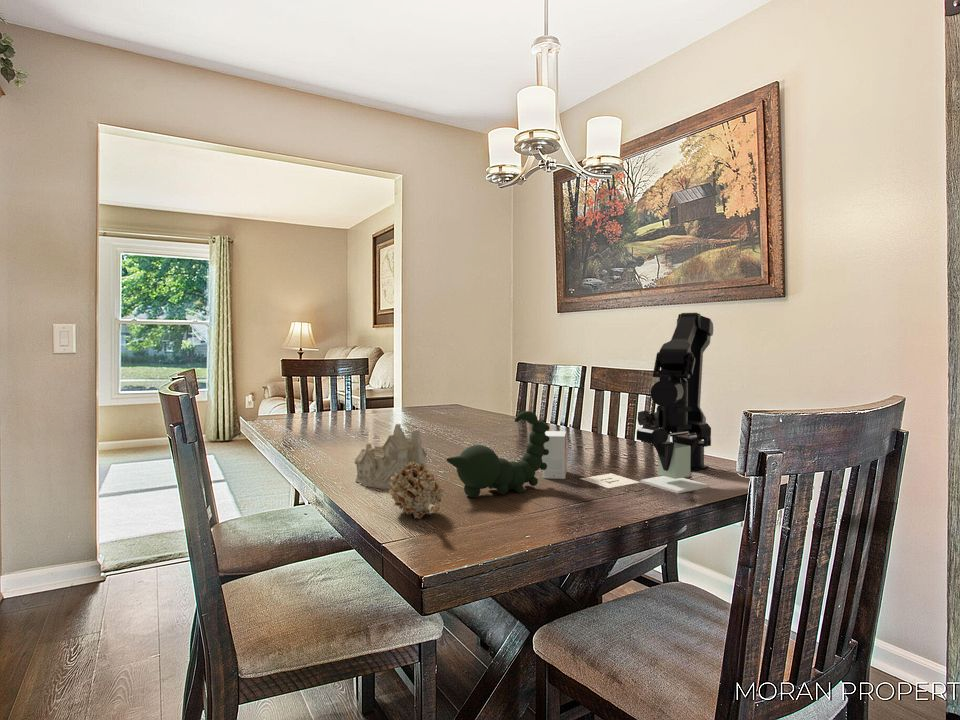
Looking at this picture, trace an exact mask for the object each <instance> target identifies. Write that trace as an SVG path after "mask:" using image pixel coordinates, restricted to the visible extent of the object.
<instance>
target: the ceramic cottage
mask: <svg viewBox="0 0 960 720" xmlns="http://www.w3.org/2000/svg"><path fill="white" fill-rule="evenodd" d="M401 426H402V425H401V424H400V423H396V424H395V426H394V429H393V434H390V435H388V437H387V438H386V440H385V442H384V444H383V445H380V446H379V445H376V446H374V448H373V447H372V444H371V443H366V444H365V448H363V449H362V448H361V451H359V454H358V455H357V457H356V458H355V460H354V464H355V465H356V473H357V474H356V478H355V483H357V482H358V484H359V483H361V484H360V485H362V484H363V485H362V486H364V485H365V486H364V487H367V486H368V488H372V489H373V488H378V489H384V490H385V489H387V490H390V489H391V488H392V486H391V485H390V483H392V480H391V477H395V472H396V473H399V472H401V470H402V469H403V468H404V465H405V466H406V467H407V465H408V463H409V462H411V461H412V462H416V463H418V464H419V466H420V465H421V463H423V464H424V465H425V467H426V468H428V467H427V466H428V465H427V463H428V462H427V460H426V457H427V455H428V453H426V451H425V449H424V448H423V446H422V445H423V444H422V438H421V434H420V433H421V432H420V429H416V428H414V429H412V431H411V436H410V437H406V435H405V432H404V431H403V428H402V427H401ZM428 469H429V471H431V470H430V468H428Z"/></svg>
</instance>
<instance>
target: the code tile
mask: <svg viewBox="0 0 960 720" xmlns="http://www.w3.org/2000/svg"><path fill="white" fill-rule="evenodd" d="M579 480H583V481H586V482H589V483H592V484H595V485H597V486H600V487H604V488H606V489H611V488H617V487H623V486H628V485H634V484H638V483H641V481H638V480H634V479H631V478H629V477H628V478H627V477H624V476H621V475H619V474H618V475H617V474H615V473H611V472H610V473H606V474H598V475H593V476H588V477H581V478H579Z"/></svg>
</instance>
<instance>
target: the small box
mask: <svg viewBox="0 0 960 720" xmlns="http://www.w3.org/2000/svg"><path fill="white" fill-rule="evenodd" d="M545 434H546V436H548V437H549V438H550V439H549V441H548V442H545V444H544V448H545V449H548V450H549V454H548V455H543V456H542V463H546V464H547V468H546V470H542V479H551V480H553V479H555V480H556V479H557V480H566V476H567V471H568V470H567V445H568V444H567V443H568V442H567V431H564V430H563V431H562V430H561V431H560V430H558V431H557V430H548V431H546V432H545Z"/></svg>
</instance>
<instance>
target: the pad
mask: <svg viewBox="0 0 960 720" xmlns="http://www.w3.org/2000/svg"><path fill="white" fill-rule="evenodd" d="M640 483H642V484H645V485H648V486H651V487H655V488H658V489H662V490H664V491H667V492H672V493H675V494H682V493H687V492H692V491H697V490H701V489H707V488H709V484H707V483H703V482H699V481H697V480H692V479H689V478H686V477H683V478H678V479H673V478H670V477H666V476H662V475H659V476H655V477H648V478H643V479H640Z"/></svg>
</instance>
